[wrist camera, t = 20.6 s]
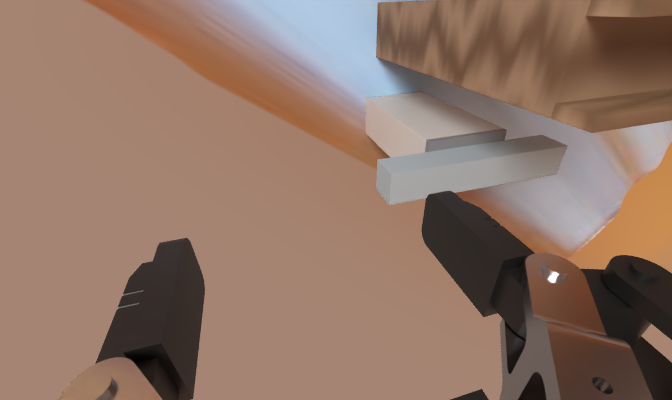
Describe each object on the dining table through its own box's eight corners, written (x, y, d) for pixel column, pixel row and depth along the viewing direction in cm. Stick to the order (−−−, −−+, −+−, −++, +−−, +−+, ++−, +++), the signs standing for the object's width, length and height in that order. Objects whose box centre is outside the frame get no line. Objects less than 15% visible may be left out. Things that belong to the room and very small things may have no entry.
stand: (378, 2, 43) (652, -7, 15) (465, -1, 46) (835, -15, 18) (376, 56, 47) (591, 133, 19) (456, 50, 50) (751, 107, 21)
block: (366, 97, 50) (429, 141, 34) (421, 91, 52) (506, 130, 36) (365, 133, 53) (422, 188, 37) (418, 126, 55) (494, 175, 39)
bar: (377, 159, 33) (391, 174, 30) (541, 134, 38) (567, 145, 35) (376, 188, 35) (389, 204, 32) (532, 161, 40) (556, 174, 37)
